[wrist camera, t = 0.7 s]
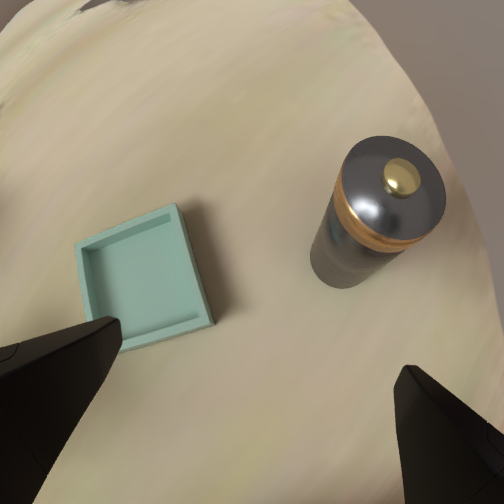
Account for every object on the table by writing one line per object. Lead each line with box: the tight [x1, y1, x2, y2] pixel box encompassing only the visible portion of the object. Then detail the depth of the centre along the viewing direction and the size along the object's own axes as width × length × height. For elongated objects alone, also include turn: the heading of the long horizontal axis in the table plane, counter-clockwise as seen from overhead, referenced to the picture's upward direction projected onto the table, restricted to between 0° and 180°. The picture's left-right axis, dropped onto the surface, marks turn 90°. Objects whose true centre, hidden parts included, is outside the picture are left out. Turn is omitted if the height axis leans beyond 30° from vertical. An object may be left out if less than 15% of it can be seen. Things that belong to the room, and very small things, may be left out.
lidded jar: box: [310, 136, 446, 289], centre depth 17 cm, size 5×5×12 cm
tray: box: [75, 203, 215, 354], centre depth 22 cm, size 9×9×2 cm
